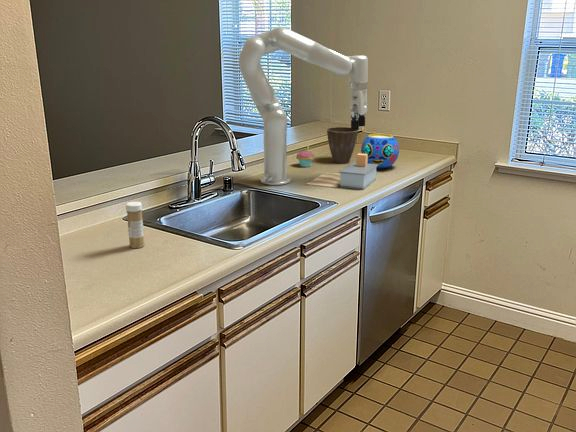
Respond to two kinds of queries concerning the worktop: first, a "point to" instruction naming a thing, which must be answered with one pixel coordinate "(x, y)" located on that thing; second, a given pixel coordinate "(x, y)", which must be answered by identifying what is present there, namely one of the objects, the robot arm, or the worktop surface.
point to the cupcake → (305, 157)
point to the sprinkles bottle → (135, 224)
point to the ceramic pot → (380, 149)
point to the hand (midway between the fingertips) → (358, 127)
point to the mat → (326, 180)
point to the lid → (359, 166)
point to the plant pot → (341, 143)
